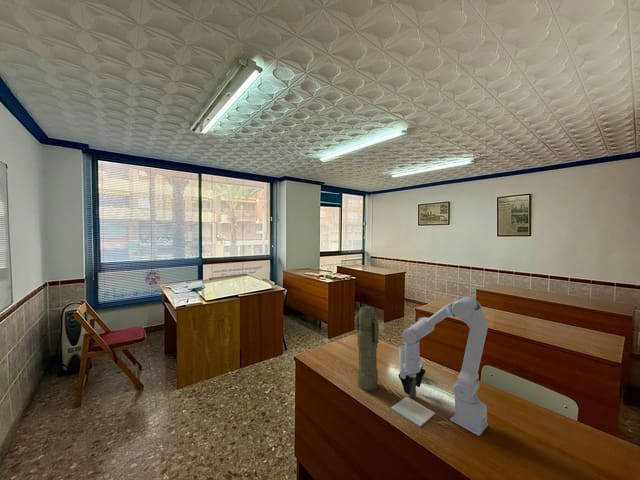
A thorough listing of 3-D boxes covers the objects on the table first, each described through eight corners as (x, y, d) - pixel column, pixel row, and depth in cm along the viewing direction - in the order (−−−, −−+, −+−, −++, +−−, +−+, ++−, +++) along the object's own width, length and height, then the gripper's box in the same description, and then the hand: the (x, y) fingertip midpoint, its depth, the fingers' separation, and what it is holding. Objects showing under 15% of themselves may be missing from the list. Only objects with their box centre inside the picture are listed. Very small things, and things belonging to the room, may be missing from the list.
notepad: (434, 414, 93) (434, 412, 93) (420, 426, 87) (420, 425, 87) (406, 398, 103) (406, 396, 103) (391, 408, 97) (391, 407, 97)
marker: (417, 397, 104) (417, 372, 104) (413, 399, 102) (413, 375, 102) (411, 393, 106) (411, 370, 106) (407, 396, 104) (407, 372, 104)
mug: (408, 378, 117) (408, 352, 117) (396, 372, 123) (396, 347, 123) (420, 371, 124) (419, 346, 124) (407, 365, 129) (407, 342, 129)
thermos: (372, 395, 105) (372, 311, 105) (351, 383, 114) (350, 306, 113) (384, 386, 111) (384, 307, 111) (363, 376, 120) (363, 302, 119)
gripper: (413, 348, 111) (413, 379, 111) (393, 358, 102) (393, 391, 102) (428, 354, 106) (428, 386, 106) (408, 365, 97) (409, 400, 97)
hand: (412, 389), depth 104 cm, fingers open, 7 cm apart
